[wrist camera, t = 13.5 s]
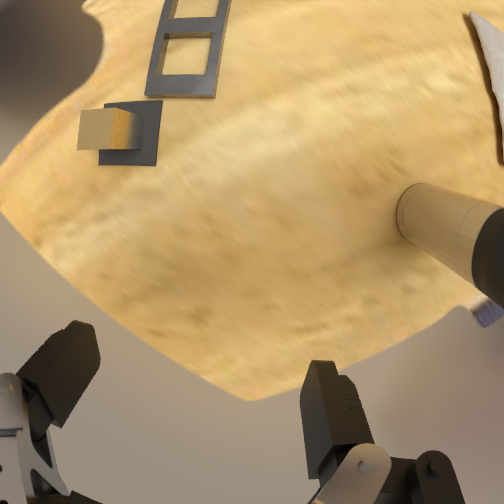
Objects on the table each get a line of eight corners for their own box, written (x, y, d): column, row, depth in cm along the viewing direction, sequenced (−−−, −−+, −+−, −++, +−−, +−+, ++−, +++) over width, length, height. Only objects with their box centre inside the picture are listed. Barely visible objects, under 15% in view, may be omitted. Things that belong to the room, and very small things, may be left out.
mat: (162, 100, 31) (162, 100, 31) (156, 165, 34) (155, 166, 34) (105, 104, 31) (104, 103, 31) (99, 164, 34) (98, 165, 34)
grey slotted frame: (237, -26, 24) (236, -32, 22) (215, 98, 32) (212, 95, 30) (177, -24, 24) (174, -30, 22) (149, 97, 31) (144, 95, 29)
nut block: (145, 116, 32) (114, 107, 23) (141, 149, 33) (109, 149, 25) (116, 117, 32) (81, 110, 23) (112, 148, 33) (77, 150, 25)
